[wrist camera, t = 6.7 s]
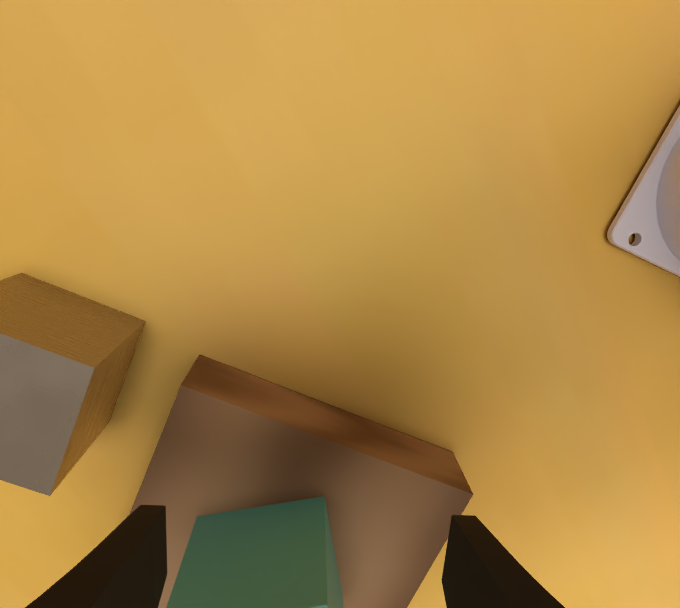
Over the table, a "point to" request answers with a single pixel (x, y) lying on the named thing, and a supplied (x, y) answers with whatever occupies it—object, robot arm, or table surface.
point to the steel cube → (56, 377)
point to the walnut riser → (304, 478)
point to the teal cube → (260, 559)
